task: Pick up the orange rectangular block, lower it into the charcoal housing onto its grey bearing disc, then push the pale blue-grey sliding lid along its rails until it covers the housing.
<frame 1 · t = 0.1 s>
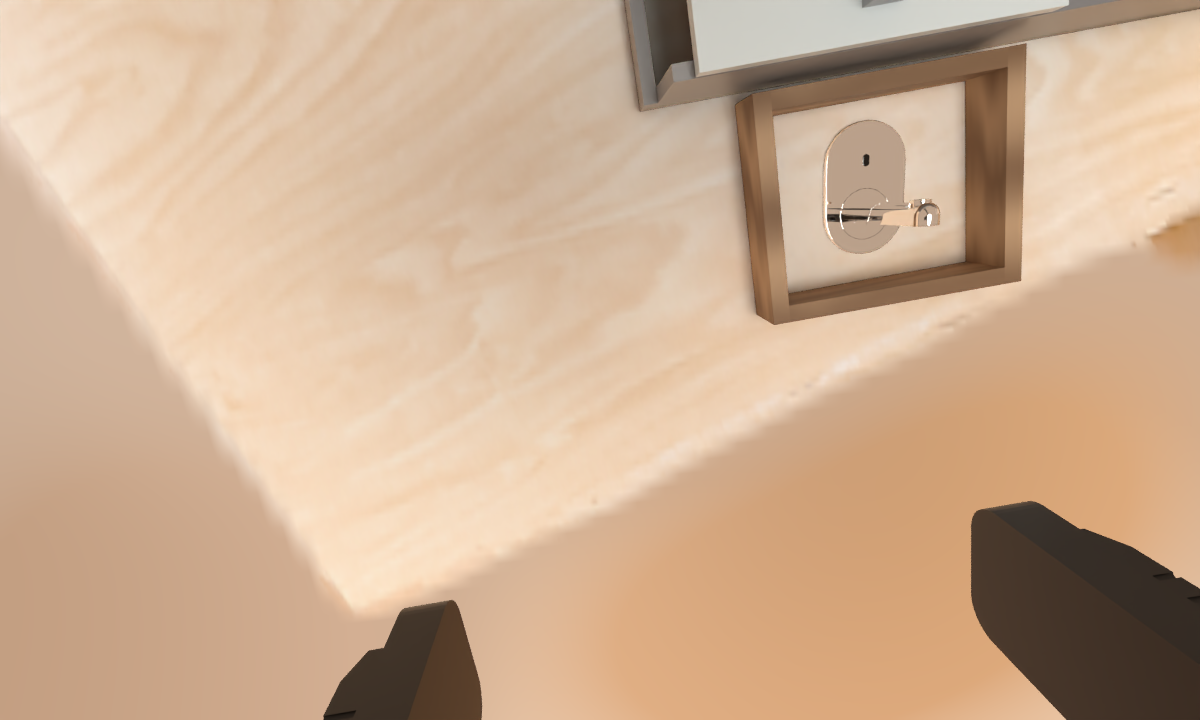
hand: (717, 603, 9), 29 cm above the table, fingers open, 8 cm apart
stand: (860, 189, 36), resting in parts frame
parts frame: (863, 193, 36), on the table
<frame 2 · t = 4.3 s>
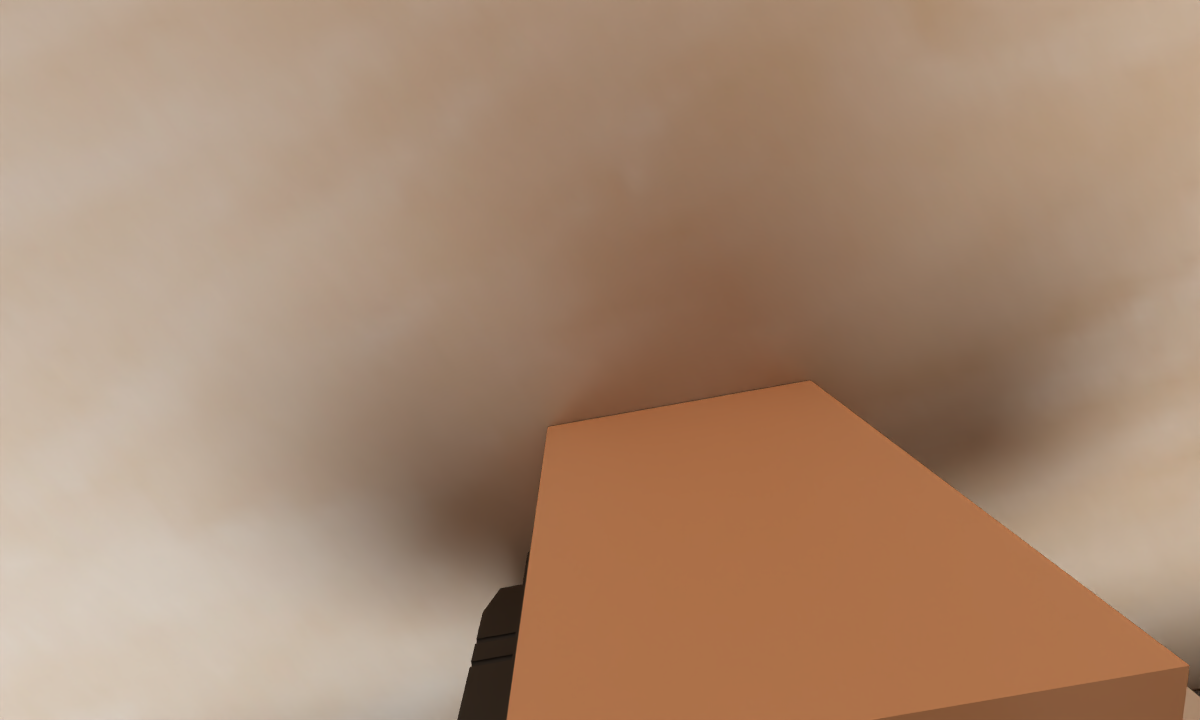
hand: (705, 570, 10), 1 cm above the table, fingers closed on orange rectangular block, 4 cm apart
orange rectangular block: (700, 549, 10), on the table, touching gripper
when the fingers open (3 cm above the table, at t = 9.1 s): orange rectangular block stays where it is, resting on housing.
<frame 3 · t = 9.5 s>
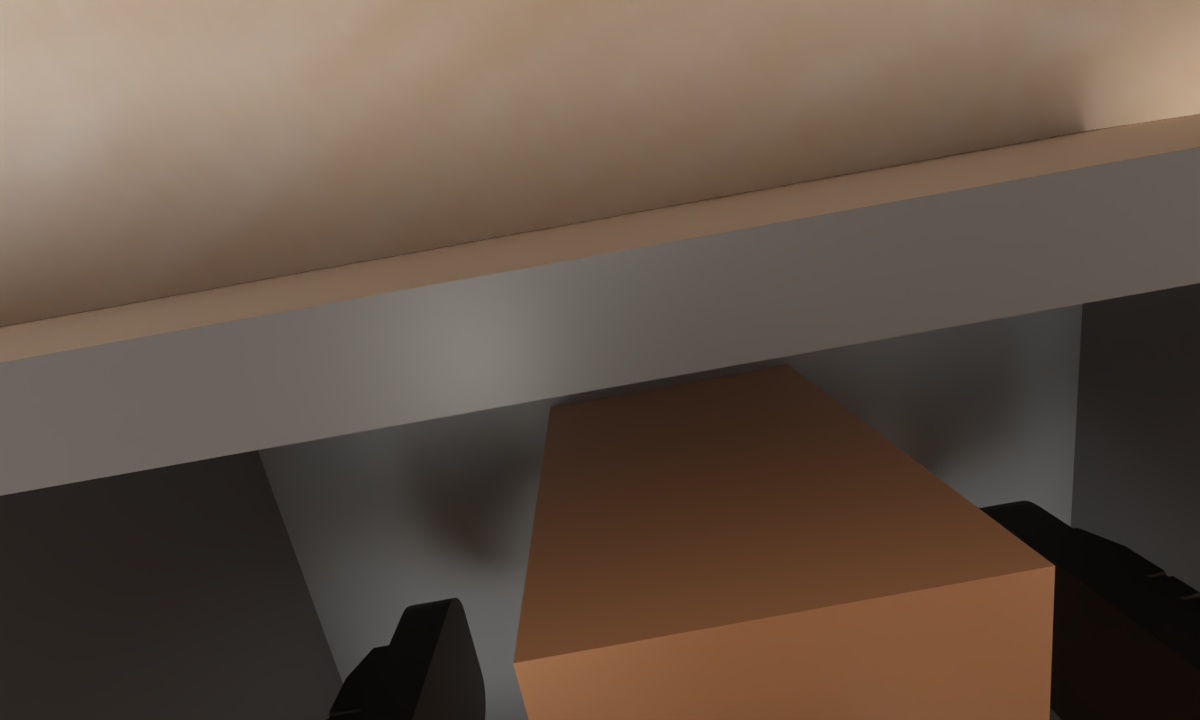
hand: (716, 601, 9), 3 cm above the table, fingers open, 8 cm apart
housing: (679, 495, 12), on the table
orange rectangular block: (689, 520, 11), point 1 cm above the table, touching housing
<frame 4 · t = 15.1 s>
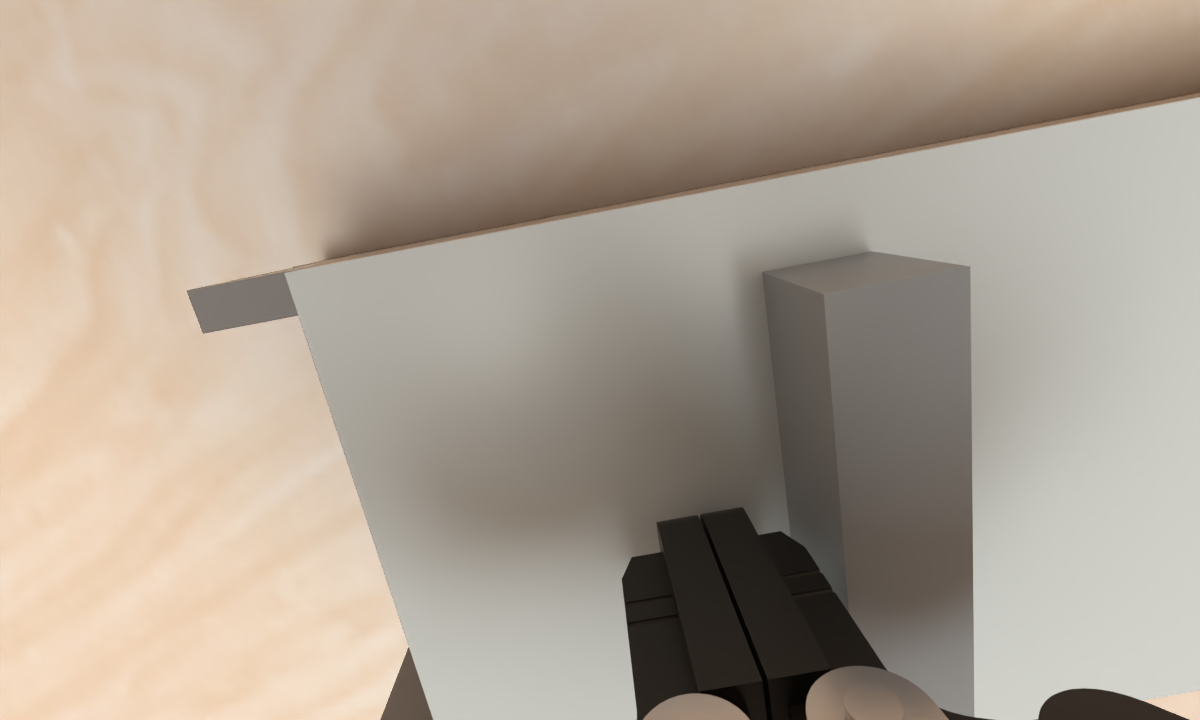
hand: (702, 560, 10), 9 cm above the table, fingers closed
housing: (1160, 289, 19), on the table
lid: (855, 527, 10), point 9 cm above the table, slide at 14.6 cm, touching gripper
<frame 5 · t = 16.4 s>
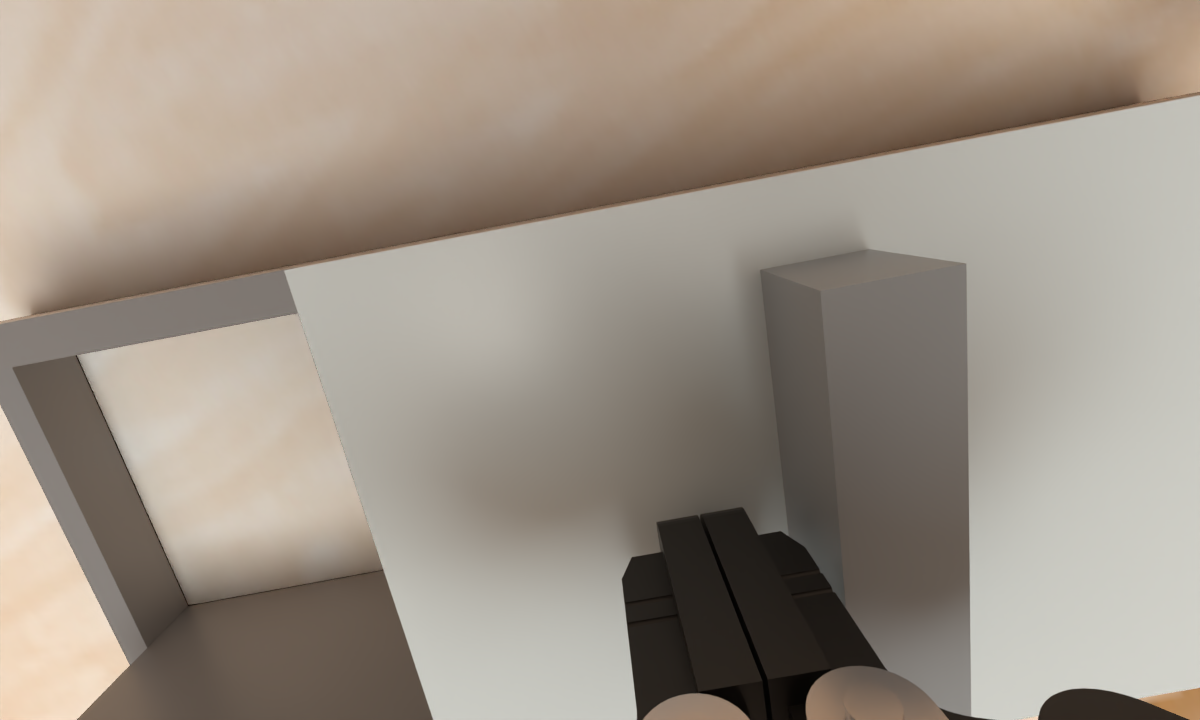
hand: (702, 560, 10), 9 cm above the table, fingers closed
housing: (876, 341, 19), on the table
lid: (853, 524, 10), point 9 cm above the table, slide at 5.2 cm, touching gripper
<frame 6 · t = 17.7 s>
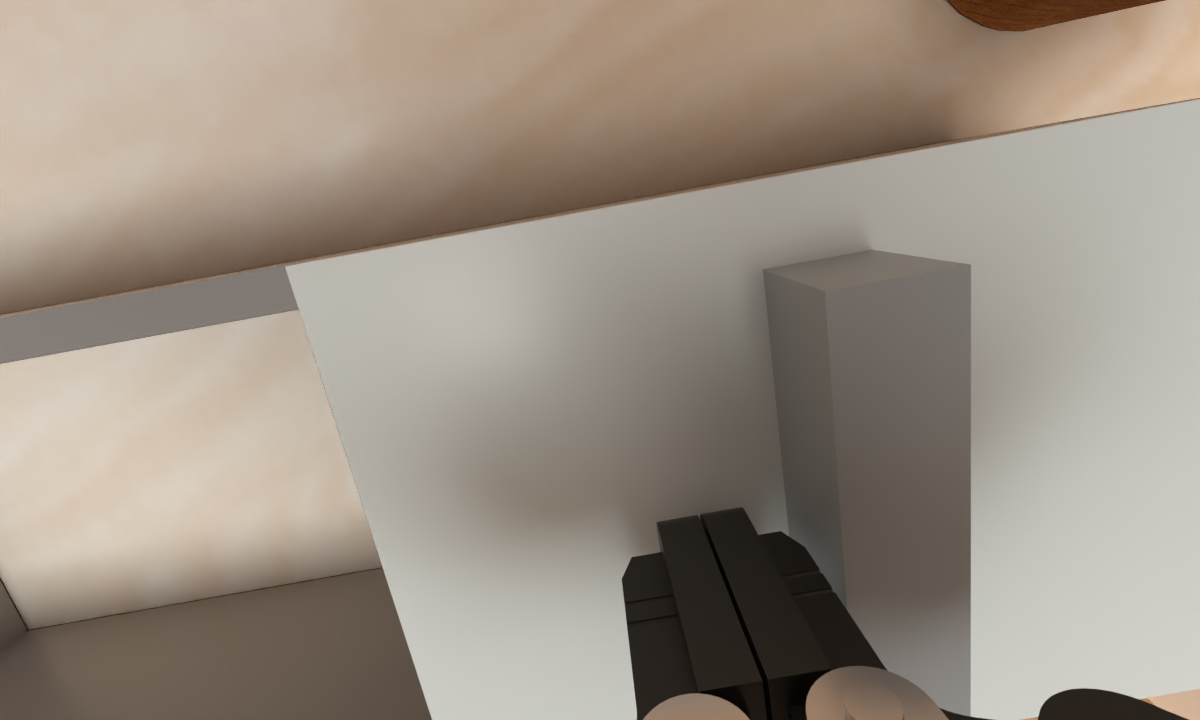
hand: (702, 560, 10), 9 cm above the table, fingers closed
housing: (703, 373, 19), on the table
lid: (854, 525, 10), point 9 cm above the table, slide at -0.6 cm, touching gripper
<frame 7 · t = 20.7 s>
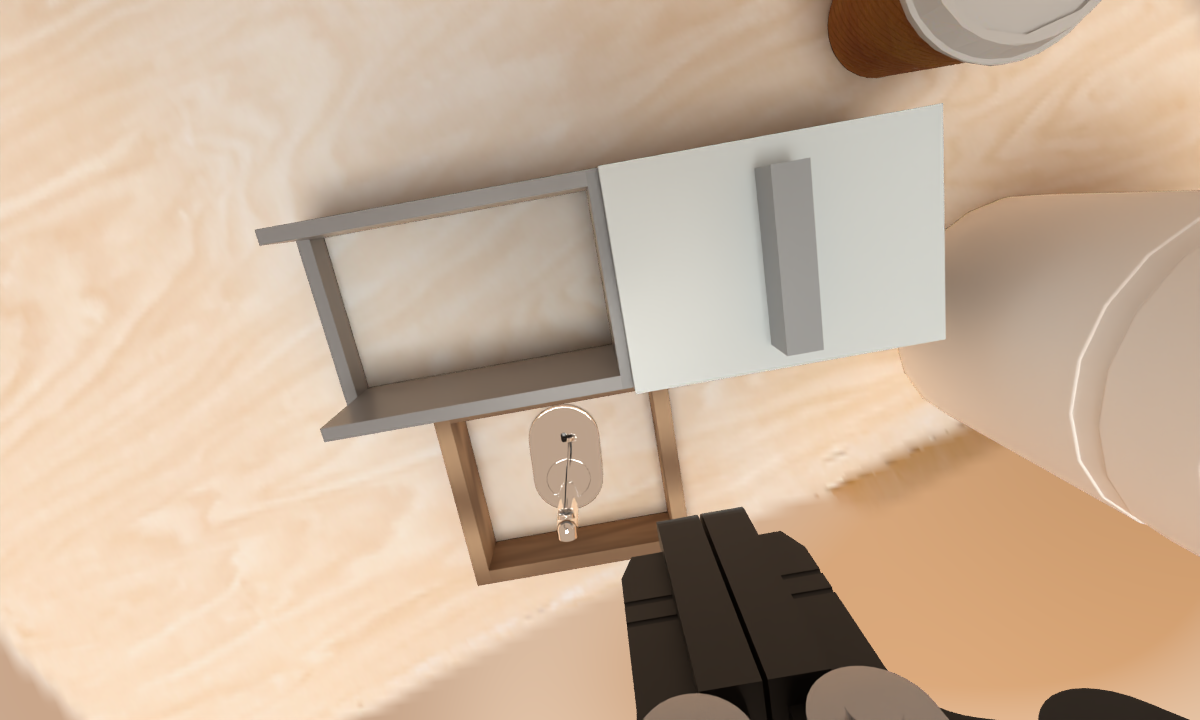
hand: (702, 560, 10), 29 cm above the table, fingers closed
canister: (1007, 313, 39), on the table
housing: (725, 247, 37), on the table
disposable coffee cup: (877, 22, 34), on the table
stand: (566, 455, 41), resting in parts frame
lid: (785, 258, 28), point 9 cm above the table, slide at -0.6 cm
parts frame: (567, 460, 41), on the table
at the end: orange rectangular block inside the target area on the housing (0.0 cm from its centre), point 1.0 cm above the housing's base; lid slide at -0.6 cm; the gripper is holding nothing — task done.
